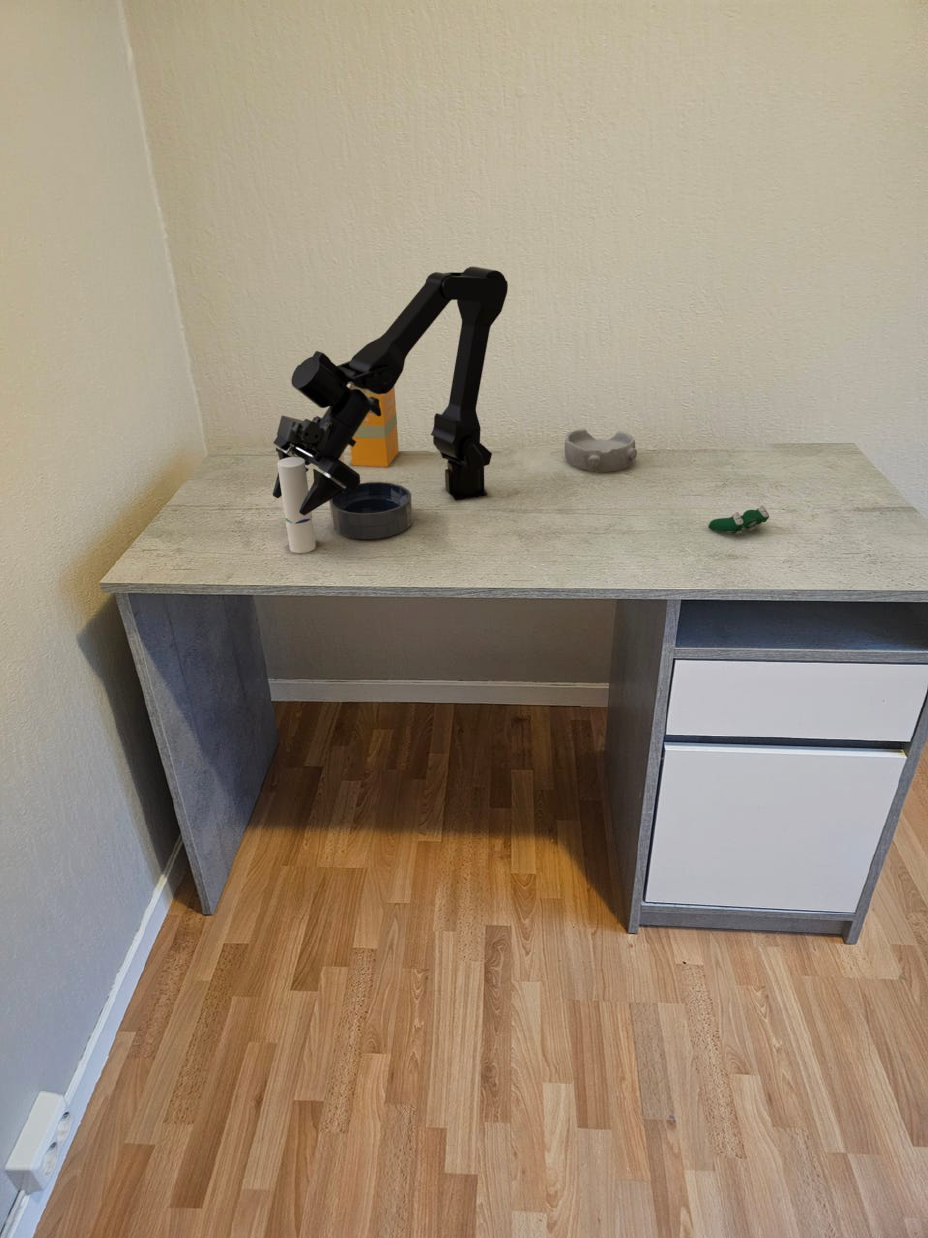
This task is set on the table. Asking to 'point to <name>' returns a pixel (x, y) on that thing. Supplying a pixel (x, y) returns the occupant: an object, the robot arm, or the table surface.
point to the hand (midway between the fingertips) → (287, 505)
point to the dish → (599, 451)
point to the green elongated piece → (740, 521)
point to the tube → (296, 504)
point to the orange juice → (377, 433)
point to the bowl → (372, 510)
